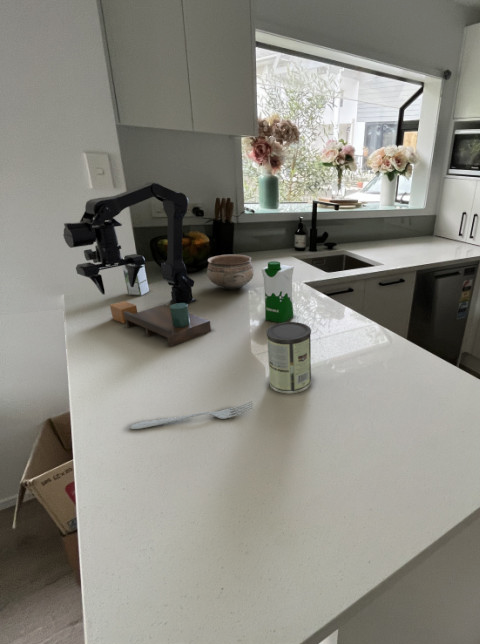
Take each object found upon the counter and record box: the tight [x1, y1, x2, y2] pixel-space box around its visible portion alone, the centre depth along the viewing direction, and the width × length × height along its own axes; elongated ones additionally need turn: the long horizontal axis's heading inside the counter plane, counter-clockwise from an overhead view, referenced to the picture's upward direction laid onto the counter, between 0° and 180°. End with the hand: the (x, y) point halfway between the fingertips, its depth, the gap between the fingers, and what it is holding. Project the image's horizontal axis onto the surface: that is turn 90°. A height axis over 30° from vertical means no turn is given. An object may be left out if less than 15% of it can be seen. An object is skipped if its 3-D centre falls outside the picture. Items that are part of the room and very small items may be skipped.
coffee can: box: [265, 321, 312, 395], centre depth 90 cm, size 10×10×14 cm
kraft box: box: [109, 300, 138, 325], centre depth 125 cm, size 5×7×5 cm
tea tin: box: [169, 303, 190, 327], centre depth 114 cm, size 5×5×6 cm
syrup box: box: [121, 257, 150, 296], centre depth 148 cm, size 6×6×14 cm
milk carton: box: [261, 260, 294, 324], centre depth 126 cm, size 9×9×20 cm
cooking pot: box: [206, 253, 255, 291], centre depth 158 cm, size 25×19×12 cm
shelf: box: [124, 303, 212, 347], centre depth 119 cm, size 14×24×5 cm, turn 56°
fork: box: [129, 401, 254, 430], centre depth 78 cm, size 3×24×2 cm, turn 105°
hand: (118, 290), depth 122 cm, fingers open, 9 cm apart
